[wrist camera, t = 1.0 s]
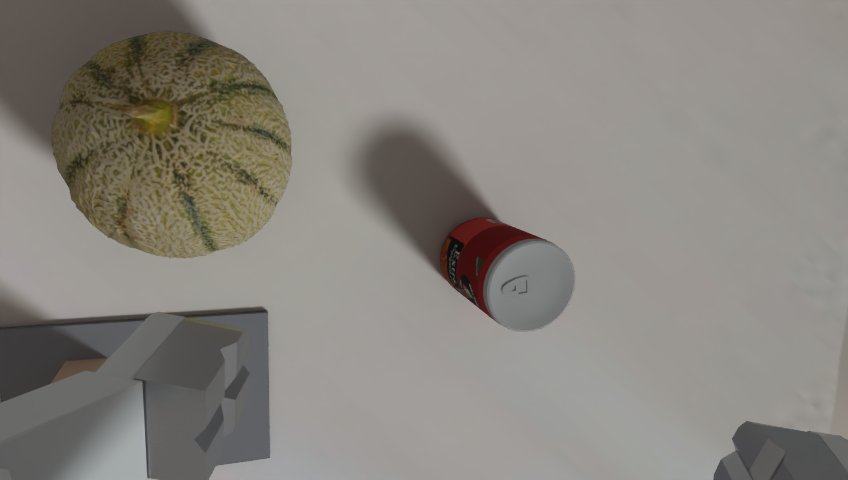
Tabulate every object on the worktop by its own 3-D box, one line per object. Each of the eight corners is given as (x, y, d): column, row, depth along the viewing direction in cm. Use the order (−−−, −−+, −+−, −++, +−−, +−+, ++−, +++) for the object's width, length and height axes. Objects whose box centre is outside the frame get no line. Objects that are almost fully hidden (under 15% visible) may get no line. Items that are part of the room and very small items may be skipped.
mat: (15, 491, 46) (12, 494, 46) (-5, 328, 43) (-8, 330, 43) (269, 454, 53) (269, 457, 52) (267, 310, 50) (267, 312, 49)
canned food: (427, 235, 53) (474, 265, 43) (501, 203, 55) (563, 224, 45) (452, 306, 55) (502, 349, 45) (522, 272, 57) (585, 307, 47)
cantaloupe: (217, 267, 48) (212, 332, 34) (40, 163, 42) (-53, 189, 28) (320, 124, 48) (357, 129, 34) (158, 2, 42) (123, -52, 28)
